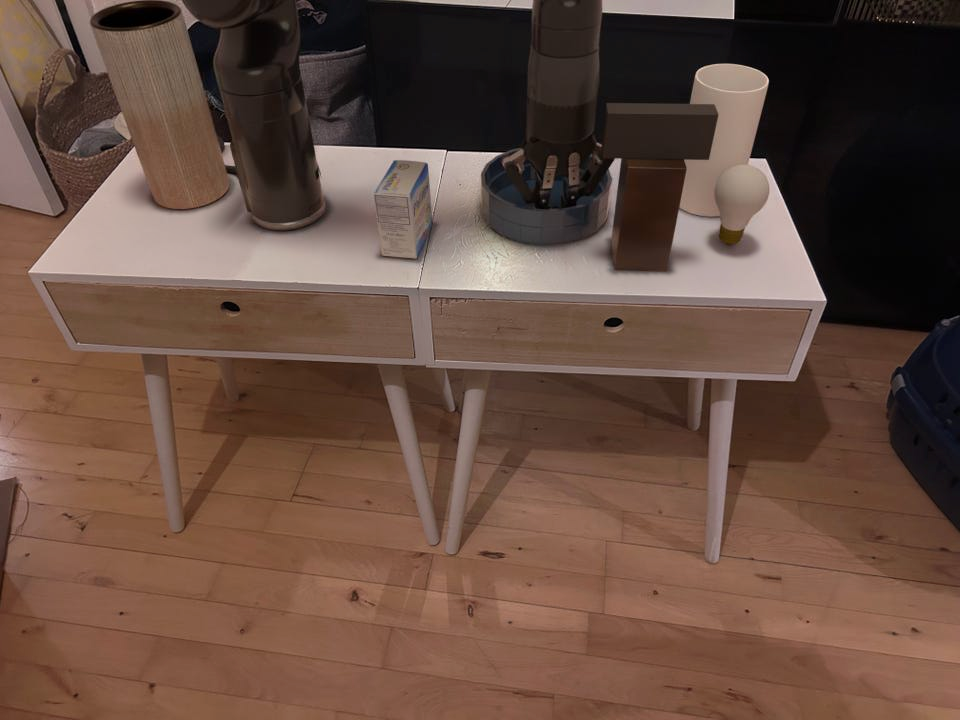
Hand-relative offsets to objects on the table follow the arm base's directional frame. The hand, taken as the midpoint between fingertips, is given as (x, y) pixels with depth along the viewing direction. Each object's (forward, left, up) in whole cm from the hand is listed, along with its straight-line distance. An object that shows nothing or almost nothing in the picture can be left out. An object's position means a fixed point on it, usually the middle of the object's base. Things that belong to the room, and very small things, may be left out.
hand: (554, 226), depth 91 cm
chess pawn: (0, 0, 0) cm, 0 cm away
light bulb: (+19, +9, -1) cm, 21 cm away
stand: (+11, +1, -1) cm, 11 cm away
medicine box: (-14, -11, -1) cm, 18 cm away
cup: (+13, +17, -1) cm, 21 cm away
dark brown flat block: (+11, +1, +12) cm, 17 cm away
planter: (-46, -18, -1) cm, 49 cm away
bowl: (-3, +3, -1) cm, 5 cm away
